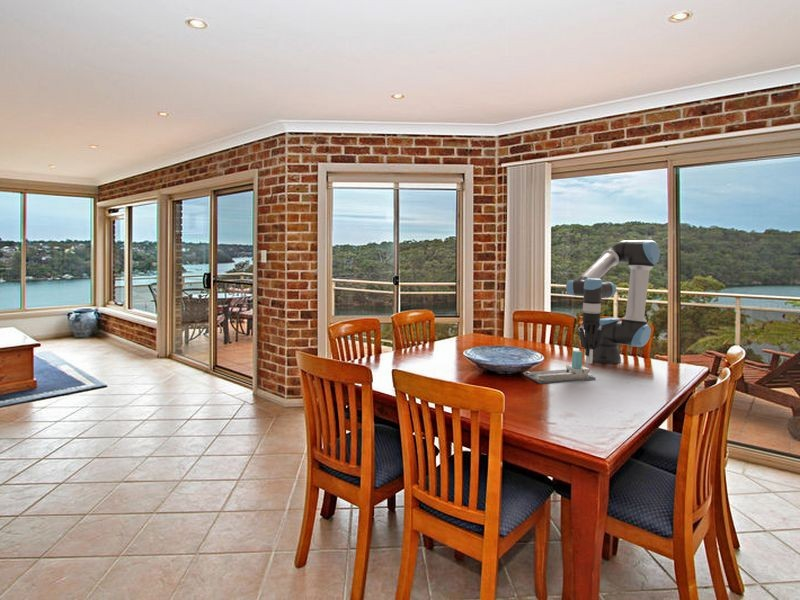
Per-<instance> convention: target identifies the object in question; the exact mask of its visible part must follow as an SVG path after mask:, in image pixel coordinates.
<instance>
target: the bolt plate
mask: <svg viewBox="0 0 800 600" xmlns="http://www.w3.org/2000/svg"><path fill="white" fill-rule="evenodd" d="M557 373H567V369H556V370H541V371H539V370H538V371H528V370H526V371H525V372H524V371H523V372H522V374H524V375H523V376H525V377H527V378H529V379H531V380H533V381H534V382H537V383H538V384H540V385H541V384H555V383H569V382H570V383H571V382H583V381H585V382H586V381H596V377H595V376H593V375H591V374H588V377H580V378H565V379H551V380H544V379H540V380H538V379H537V375H541V374H557ZM569 373H572V371H571V370H569Z"/></svg>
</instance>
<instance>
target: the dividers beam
mask: <svg viewBox="0 0 800 600" xmlns="http://www.w3.org/2000/svg"><path fill="white" fill-rule="evenodd" d="M590 370H591V369H590V368H589V367H586V366H582V373H577V374H576V373H574V372H572V373H557V374H541V375H537V379H538V380H540V379H544V380H551V379H565V378H580V377H588V375H589V374H590V372H591V371H590Z"/></svg>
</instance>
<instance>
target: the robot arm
mask: <svg viewBox="0 0 800 600" xmlns="http://www.w3.org/2000/svg"><path fill="white" fill-rule="evenodd" d="M600 255H601V256H600V257H599V258H597V259H596V260H595V262H593V264H591V265H590V266H589V268H587V269H586V270H585V271H584V272H583V273H581V275H580V276H579V277H578V278H577V279H570V280H568V281H567V283H566V284H565V290H566V293H567V294H568V295H571V296H575V297H579V296H580V297H583V301H582V311H583V312H582V324H581V326H578V327H577V328H576V329H577V331H578V334H579V335H578V336H579V340H580V341H579V342H580V346H581V348H582V349H583V348H584V355H585V362H586V363H587V364H593V362H595V363H597V364H598V363H600V364H606V365H607V364H609V365H616V364H619V363H621V362H622V356H621V353H620V350H619V349H620V348H619V344H620V345H625V346H631V347H637V348H641V347H644V346H645V345H646V344H647V343H648V342H649V340H650V338H651V334H652V330H651V326H650V325H649V324H648V320H647V319H646V318H645V314H646V313H645V312H646V305H647V304H646V303H647V295H648V286H649V279H650V271H651V270H652V269H653V268H654V265H655V264H658V263H659V260H660V258H661V253H660V248H659V245H658V243H657V242H656V241H654V240H653V239H652V240H650V239H640V240H639V239H637V240H636V239H634V240H633V239H632V240H631V239H629V240H621V241H618V242H615V243H614V244H613V243H612V244H611V245H610V246H608V247H606V249H605V250H603V251H602V252H601V254H600ZM621 263H627V266H628V268H629V270H630V272H629V274H630V275H629V281H628V283H629V284H628V293H627V301H626V310H625V316H623V317H622V318H621V319H620V317H619V318H618V317H605V318H601V311H602V308H601V307H602V299H609V298H612V297H614V296H615V294H616V293H617V286H616V285H615V284H614V283H613V282H612V281H603V279H601V278H603V276H604V275H605V274H606V273H608V271H610V269H611V268H612V267H615V266H617V265H618V264H621Z"/></svg>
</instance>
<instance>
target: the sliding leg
mask: <svg viewBox="0 0 800 600" xmlns="http://www.w3.org/2000/svg"><path fill="white" fill-rule="evenodd" d="M571 358H572V359H571V360H572V361H571V363H572V364H566V365H565V370H567V373H569V370H571V371H572V372H574V373H576V374H577V373H582V367H583V365H582V363H583V351H581V350H572V355H571Z"/></svg>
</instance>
